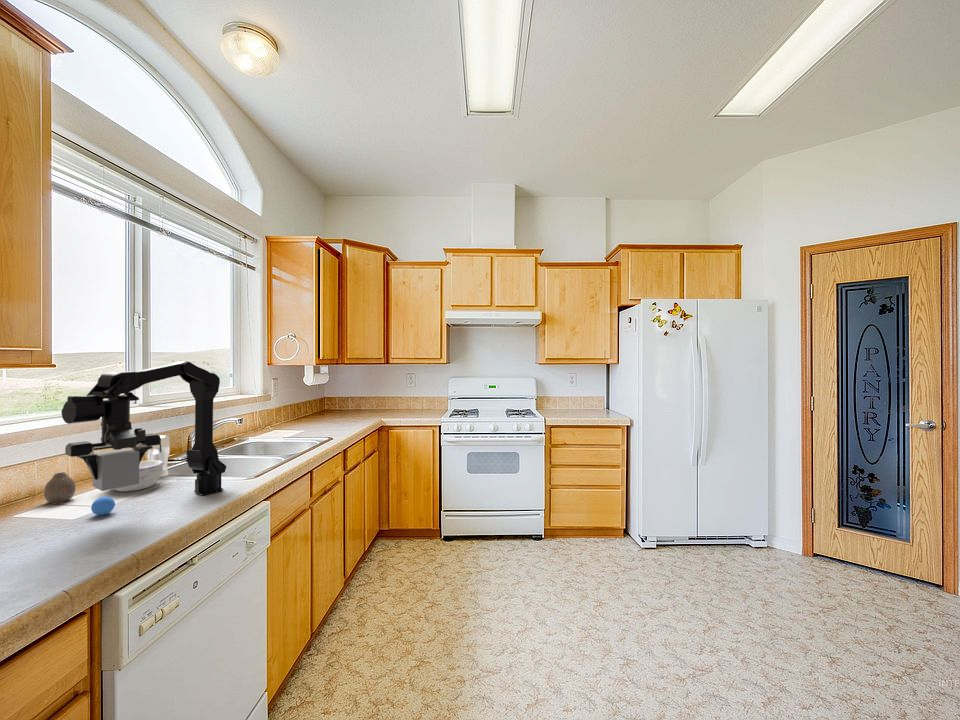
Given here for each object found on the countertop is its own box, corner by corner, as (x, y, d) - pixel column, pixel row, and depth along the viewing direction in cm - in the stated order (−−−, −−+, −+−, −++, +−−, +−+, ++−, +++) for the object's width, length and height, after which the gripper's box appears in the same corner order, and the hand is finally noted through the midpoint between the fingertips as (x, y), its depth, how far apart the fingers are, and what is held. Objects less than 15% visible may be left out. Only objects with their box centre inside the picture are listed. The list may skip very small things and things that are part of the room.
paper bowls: (133, 480, 149) (133, 459, 149) (173, 481, 148) (173, 459, 148) (92, 494, 134) (92, 470, 134) (136, 495, 133) (136, 471, 133)
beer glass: (150, 479, 150) (151, 438, 150) (143, 476, 154) (143, 437, 154) (173, 475, 156) (173, 435, 156) (165, 472, 160) (165, 434, 160)
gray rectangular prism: (128, 479, 116) (129, 448, 116) (139, 483, 112) (139, 451, 112) (92, 486, 110) (92, 453, 110) (102, 491, 106) (102, 457, 106)
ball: (116, 493, 118) (118, 511, 117) (110, 495, 120) (112, 512, 119) (94, 498, 113) (95, 516, 113) (87, 500, 116) (89, 518, 115)
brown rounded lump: (80, 499, 129) (80, 471, 129) (52, 506, 123) (52, 477, 123) (67, 496, 131) (67, 469, 131) (38, 503, 125) (38, 475, 125)
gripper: (77, 425, 99) (77, 490, 99) (169, 416, 115) (168, 472, 115) (64, 421, 105) (64, 482, 105) (153, 413, 121) (152, 466, 121)
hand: (115, 475), depth 111 cm, fingers closed on gray rectangular prism, 8 cm apart
